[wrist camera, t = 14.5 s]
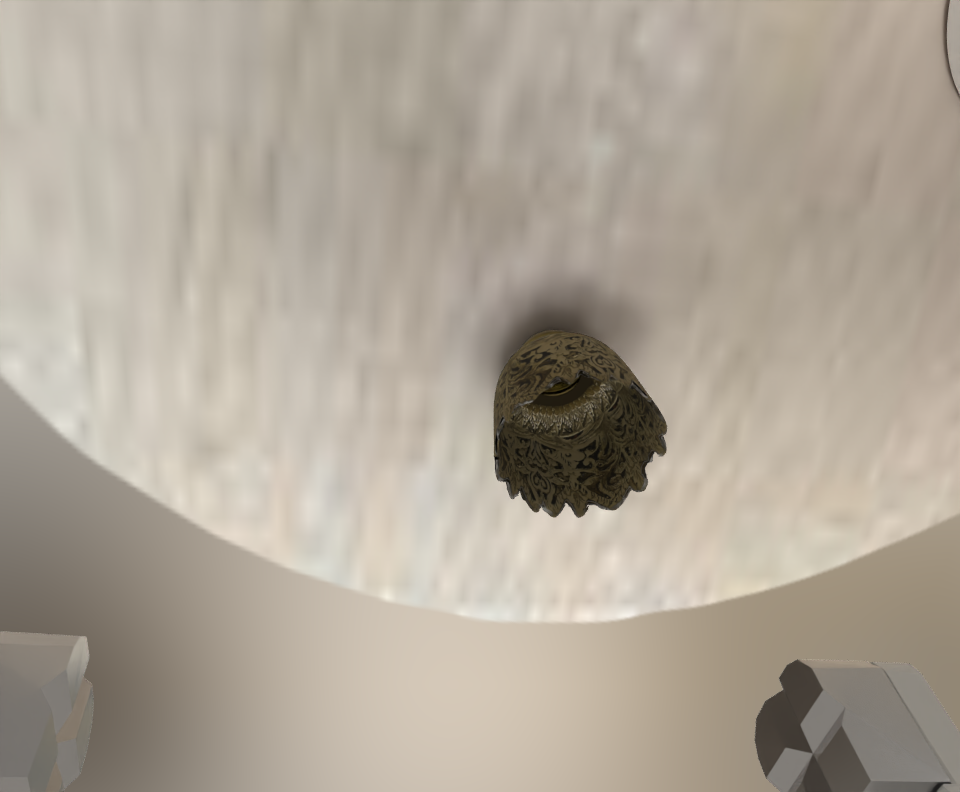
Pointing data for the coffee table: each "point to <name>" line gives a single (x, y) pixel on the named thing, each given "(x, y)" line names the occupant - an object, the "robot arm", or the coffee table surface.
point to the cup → (573, 425)
